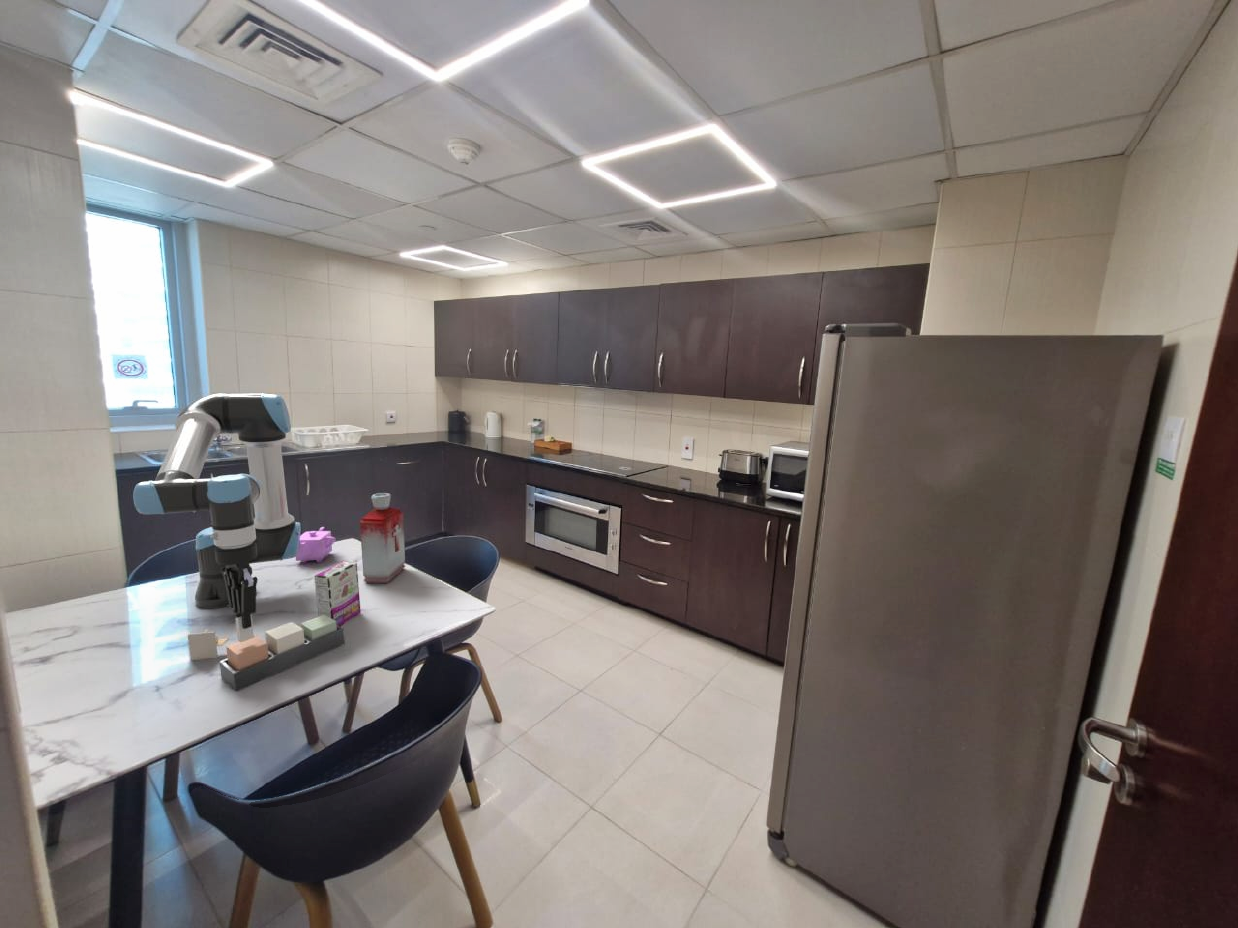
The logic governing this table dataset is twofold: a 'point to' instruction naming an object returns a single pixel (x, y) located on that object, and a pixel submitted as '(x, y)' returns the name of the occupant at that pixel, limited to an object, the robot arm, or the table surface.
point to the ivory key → (284, 638)
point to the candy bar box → (338, 592)
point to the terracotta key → (246, 653)
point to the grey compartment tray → (280, 660)
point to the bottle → (382, 541)
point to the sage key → (318, 627)
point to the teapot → (315, 545)
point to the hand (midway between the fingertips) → (246, 638)
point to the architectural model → (204, 645)
